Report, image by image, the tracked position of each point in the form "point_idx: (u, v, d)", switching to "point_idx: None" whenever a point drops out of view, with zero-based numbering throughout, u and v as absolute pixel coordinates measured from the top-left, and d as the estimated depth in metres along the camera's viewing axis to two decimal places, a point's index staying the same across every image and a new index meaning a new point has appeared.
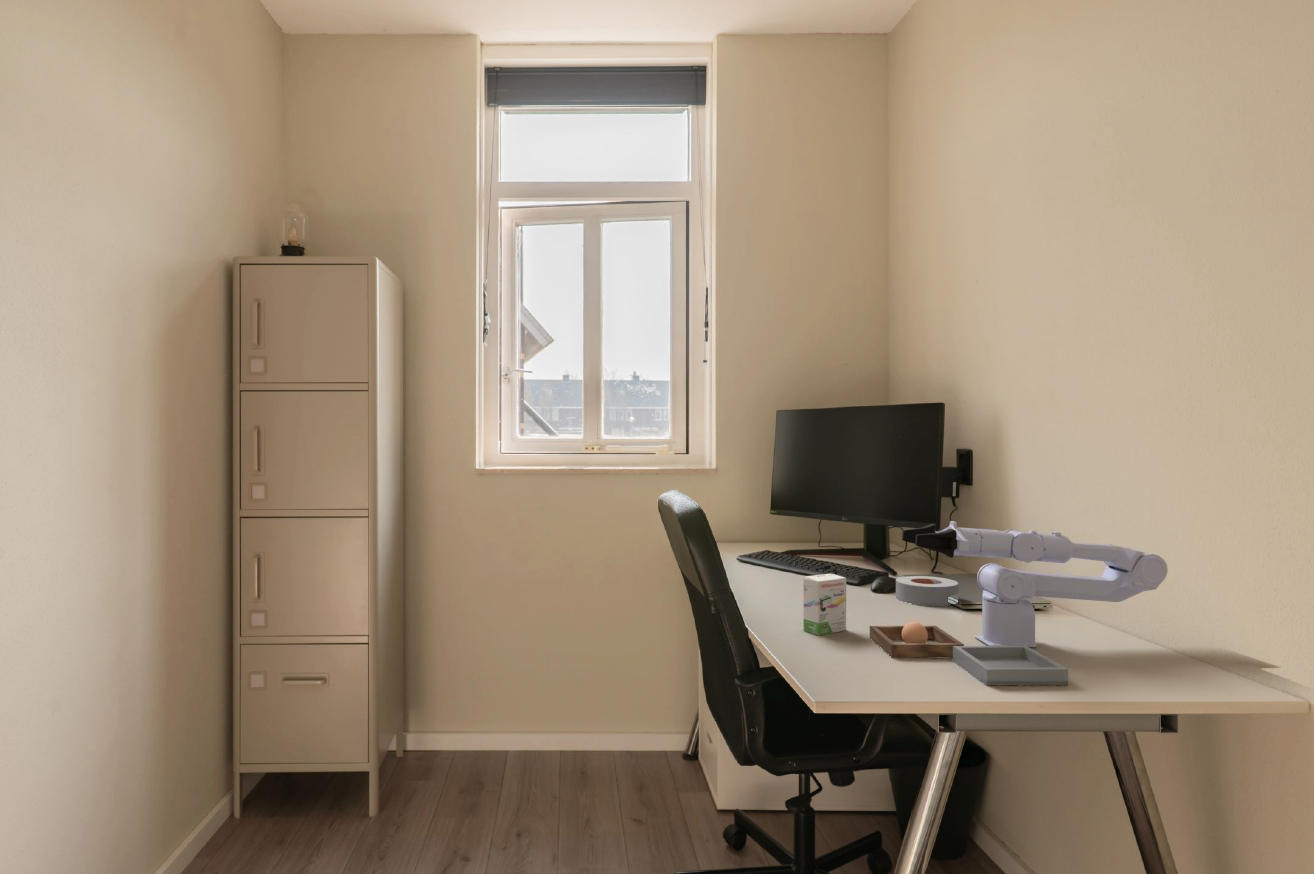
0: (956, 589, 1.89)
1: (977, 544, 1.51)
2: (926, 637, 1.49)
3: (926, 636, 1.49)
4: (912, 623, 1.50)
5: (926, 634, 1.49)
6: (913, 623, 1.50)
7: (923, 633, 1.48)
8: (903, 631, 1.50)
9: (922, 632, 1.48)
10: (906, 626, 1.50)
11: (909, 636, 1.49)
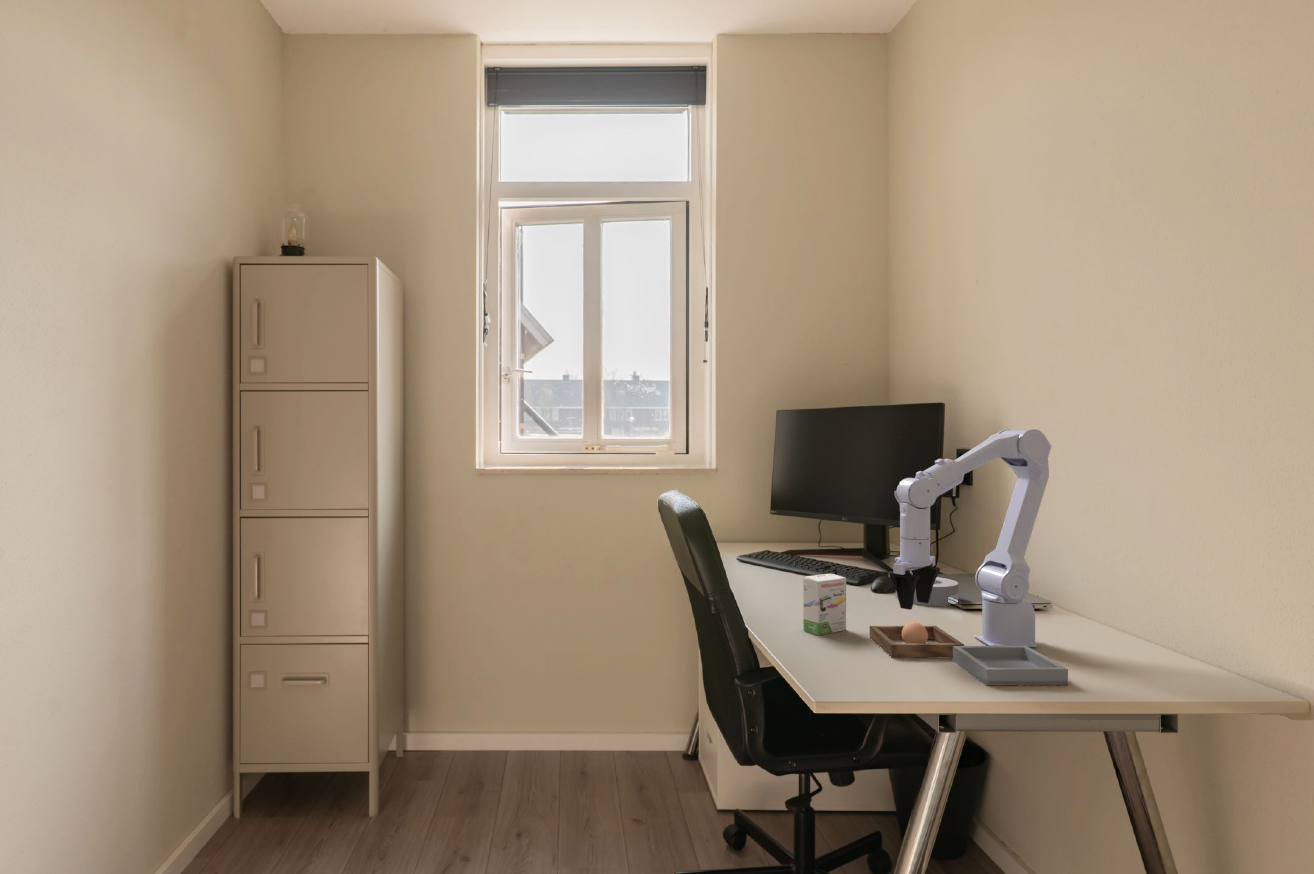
0: (956, 589, 1.89)
1: (908, 542, 1.48)
2: (926, 637, 1.49)
3: (926, 636, 1.49)
4: (912, 623, 1.50)
5: (926, 634, 1.49)
6: (913, 623, 1.50)
7: (923, 633, 1.48)
8: (903, 631, 1.50)
9: (922, 632, 1.48)
10: (906, 626, 1.50)
11: (909, 636, 1.49)
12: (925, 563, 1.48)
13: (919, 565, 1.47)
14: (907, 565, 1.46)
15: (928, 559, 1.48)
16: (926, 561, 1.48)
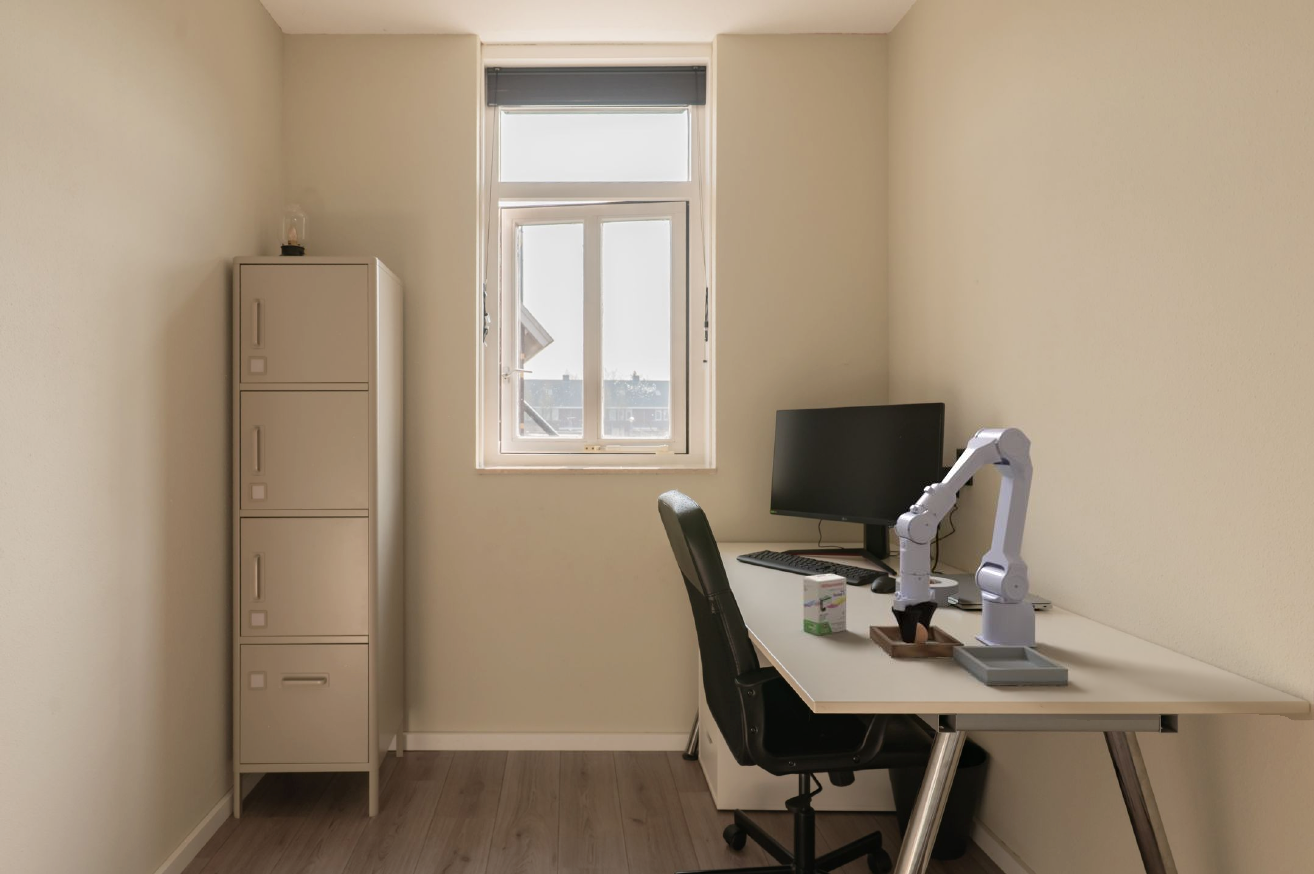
0: (956, 589, 1.89)
1: (908, 577, 1.48)
2: (926, 637, 1.49)
3: (926, 636, 1.49)
4: None
5: (926, 634, 1.49)
6: None
7: (923, 633, 1.48)
8: None
9: (922, 632, 1.48)
10: None
11: None
12: (925, 598, 1.48)
13: (919, 601, 1.47)
14: (907, 601, 1.46)
15: (928, 594, 1.49)
16: (926, 596, 1.48)
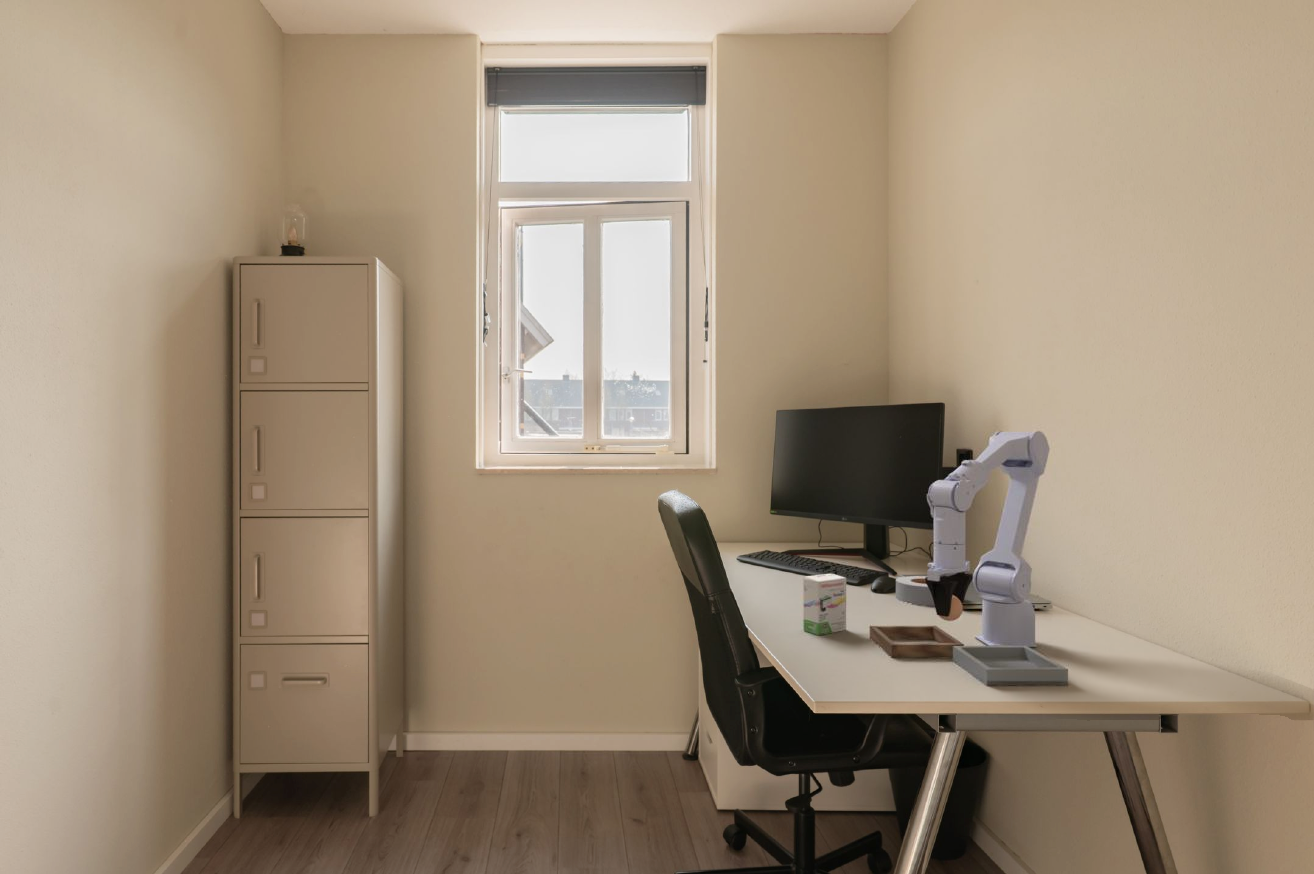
0: None
1: (943, 547, 1.42)
2: (961, 610, 1.43)
3: (961, 608, 1.43)
4: None
5: (961, 606, 1.43)
6: None
7: (958, 605, 1.42)
8: None
9: (957, 604, 1.42)
10: None
11: None
12: (960, 569, 1.41)
13: (954, 571, 1.41)
14: (942, 571, 1.39)
15: (963, 565, 1.42)
16: (961, 567, 1.42)
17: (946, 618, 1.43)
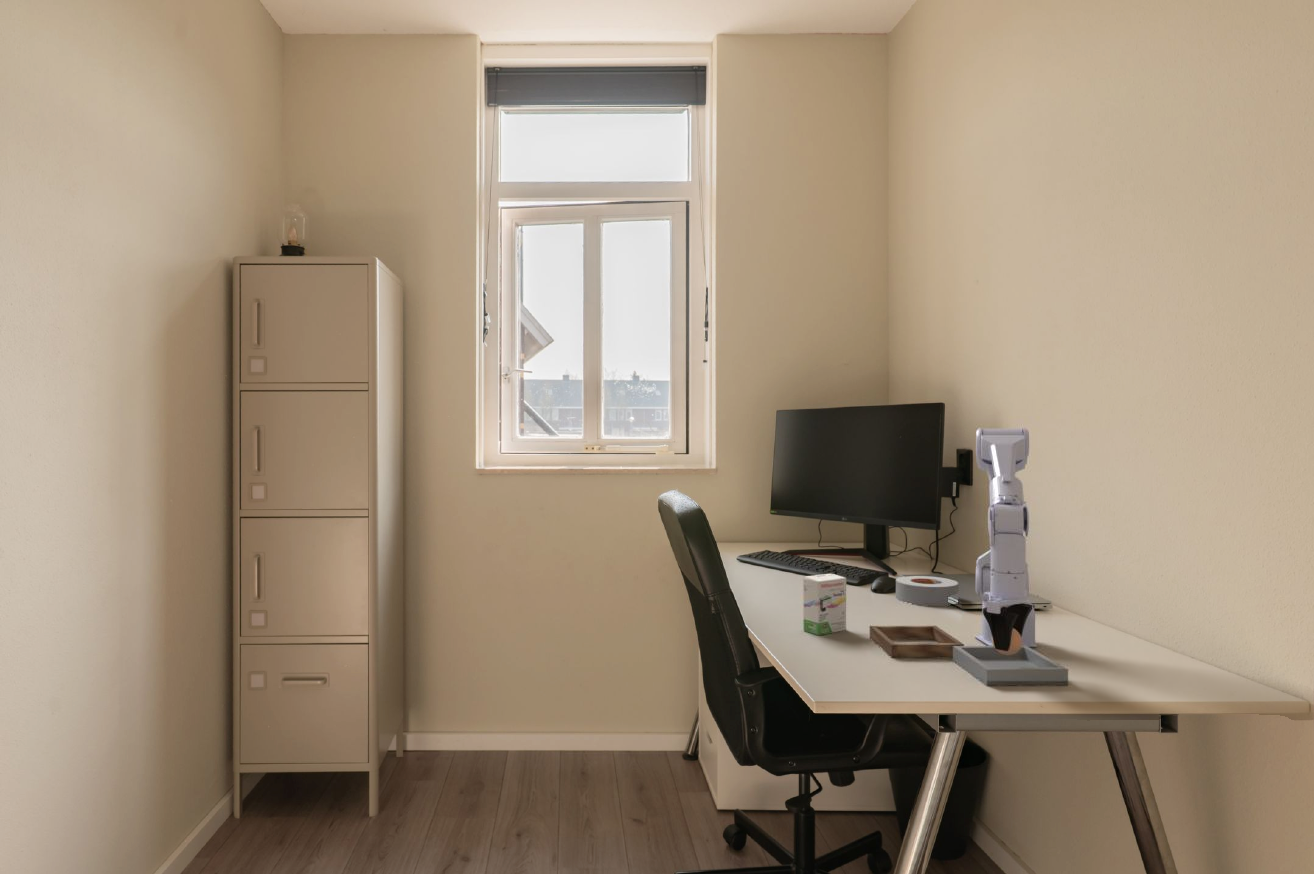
0: (956, 589, 1.89)
1: (1002, 576, 1.33)
2: (1020, 643, 1.33)
3: (1020, 642, 1.33)
4: None
5: (1020, 640, 1.33)
6: None
7: (1017, 639, 1.33)
8: None
9: (1016, 637, 1.33)
10: None
11: None
12: (1021, 600, 1.32)
13: (1015, 602, 1.31)
14: (1002, 603, 1.30)
15: (1024, 595, 1.33)
16: (1022, 598, 1.32)
17: (1004, 652, 1.33)
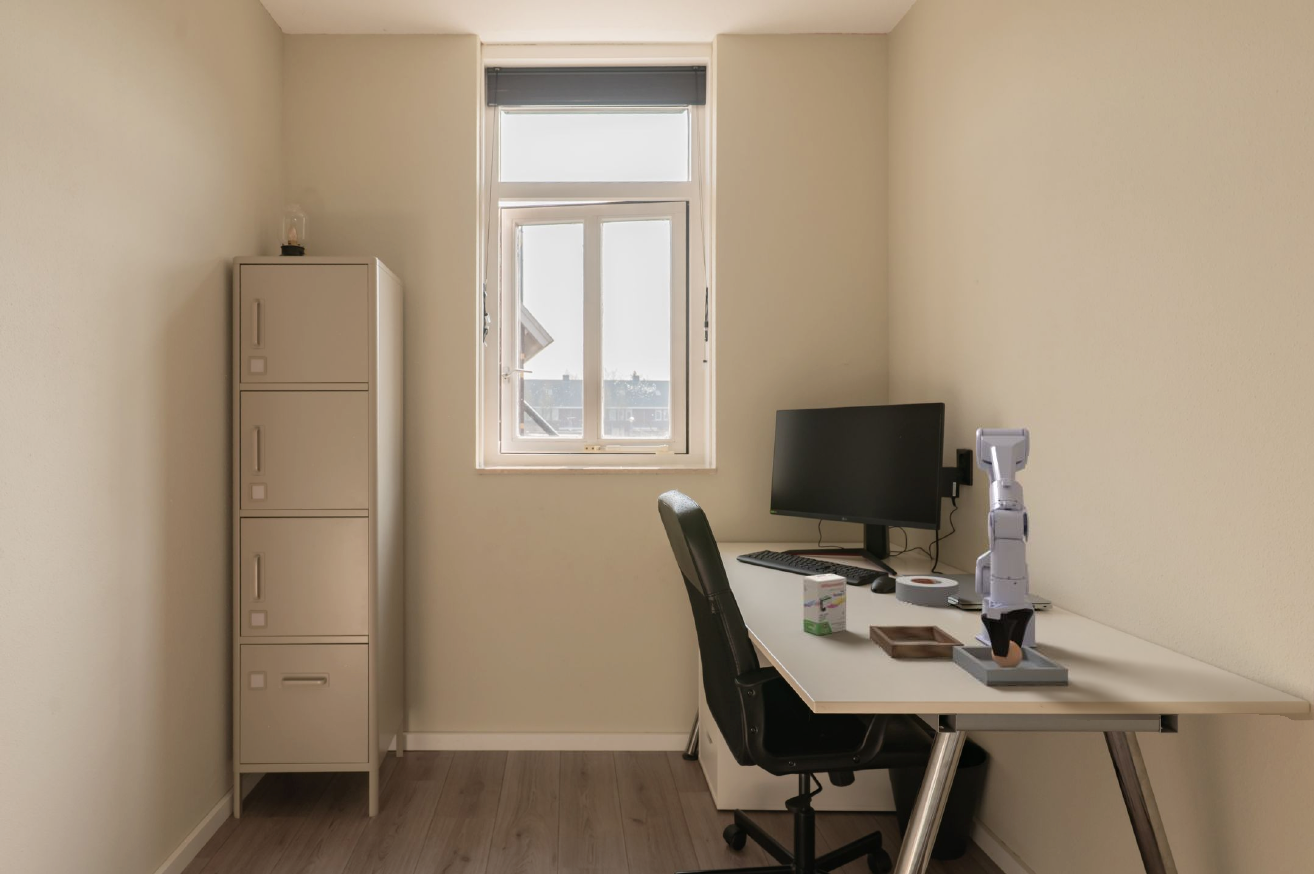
0: (956, 589, 1.89)
1: (1002, 582, 1.33)
2: (1020, 657, 1.33)
3: (1020, 656, 1.33)
4: None
5: (1020, 654, 1.33)
6: None
7: (1017, 652, 1.33)
8: None
9: (1016, 651, 1.33)
10: None
11: None
12: (1021, 605, 1.32)
13: (1015, 608, 1.31)
14: (1002, 608, 1.30)
15: (1024, 601, 1.33)
16: (1022, 603, 1.32)
17: (1004, 666, 1.33)
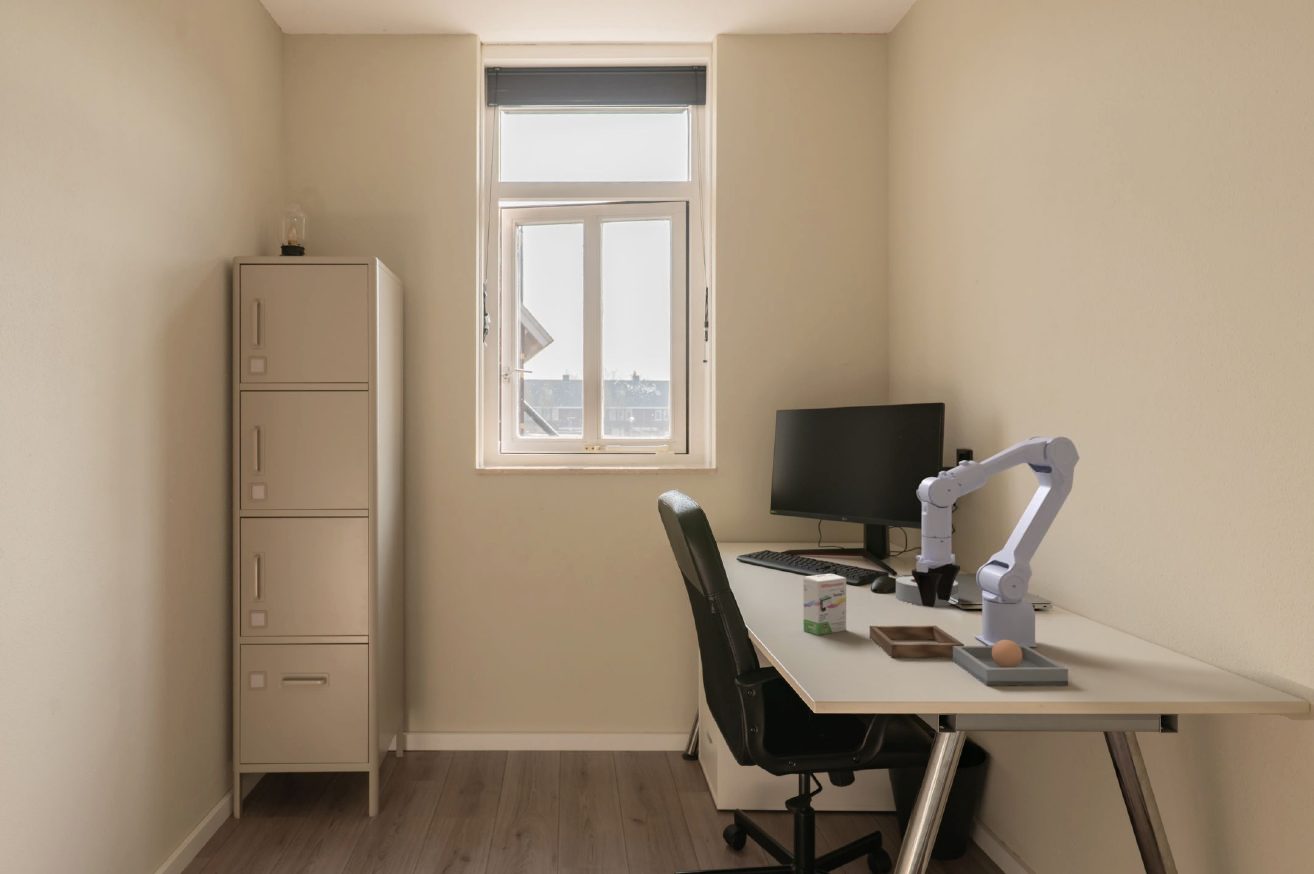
0: (956, 589, 1.89)
1: (930, 540, 1.51)
2: (1021, 657, 1.33)
3: (1021, 656, 1.33)
4: (1004, 641, 1.35)
5: (1021, 654, 1.33)
6: (1005, 641, 1.34)
7: (1017, 652, 1.33)
8: (994, 649, 1.35)
9: (1016, 651, 1.33)
10: (997, 644, 1.35)
11: (1002, 655, 1.33)
12: (947, 561, 1.50)
13: (941, 563, 1.49)
14: (930, 563, 1.48)
15: (950, 557, 1.51)
16: (948, 559, 1.50)
17: (1004, 666, 1.33)
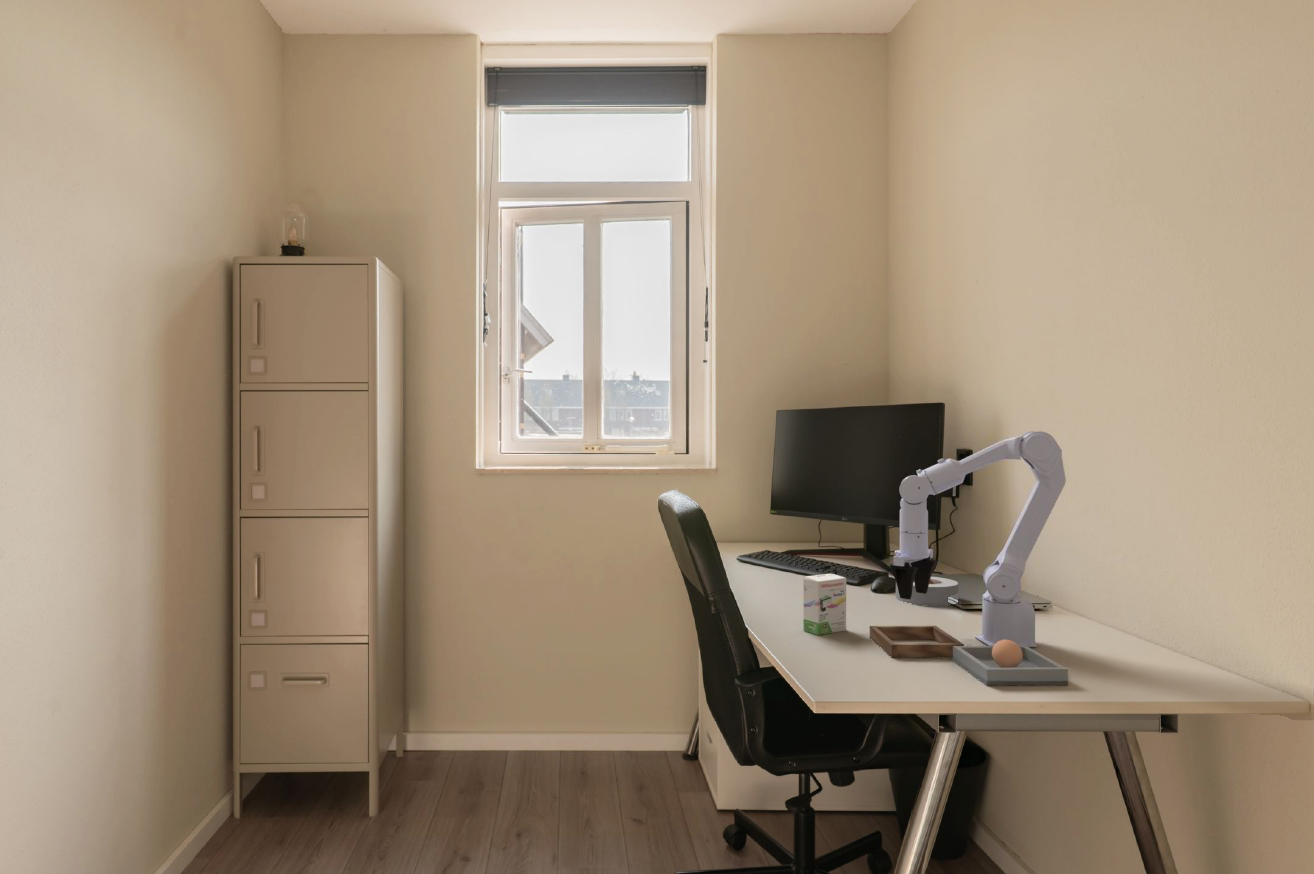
0: (956, 589, 1.89)
1: (907, 536, 1.57)
2: (1021, 657, 1.33)
3: (1021, 656, 1.33)
4: (1005, 641, 1.35)
5: (1021, 654, 1.33)
6: (1006, 641, 1.35)
7: (1018, 652, 1.33)
8: (994, 649, 1.35)
9: (1017, 651, 1.33)
10: (998, 644, 1.35)
11: (1002, 655, 1.33)
12: (923, 555, 1.57)
13: (917, 557, 1.56)
14: (906, 557, 1.55)
15: (926, 552, 1.58)
16: (924, 554, 1.57)
17: (1004, 665, 1.33)
